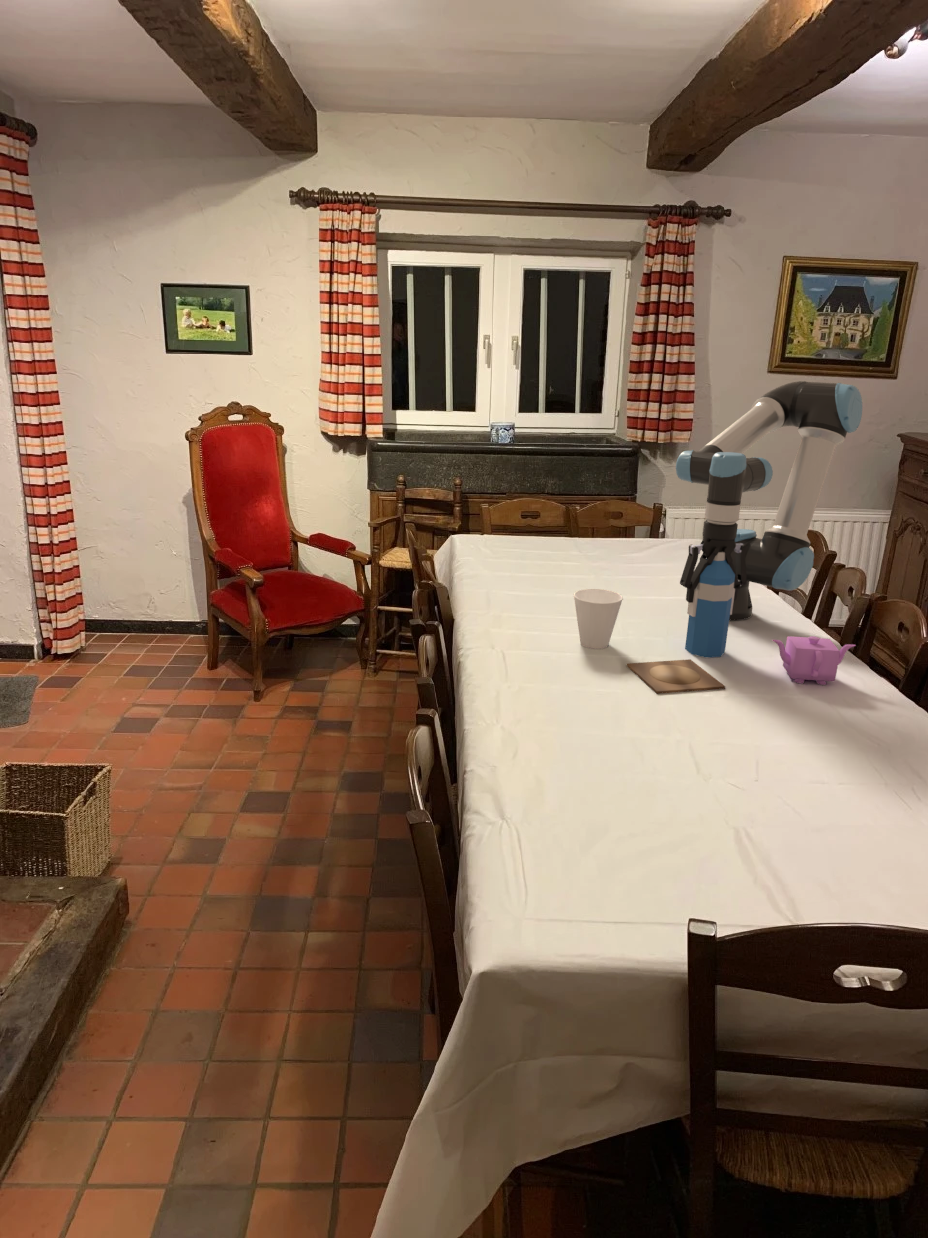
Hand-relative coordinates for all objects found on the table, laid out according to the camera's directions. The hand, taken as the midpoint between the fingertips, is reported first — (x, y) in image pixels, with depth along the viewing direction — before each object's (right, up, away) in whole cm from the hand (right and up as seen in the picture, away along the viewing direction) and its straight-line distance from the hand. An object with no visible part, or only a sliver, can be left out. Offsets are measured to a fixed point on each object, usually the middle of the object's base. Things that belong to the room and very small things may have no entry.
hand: (709, 613), depth 200 cm
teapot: (+19, -15, -11) cm, 26 cm away
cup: (-27, -8, +6) cm, 28 cm away
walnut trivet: (-12, -14, -13) cm, 23 cm away
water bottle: (0, -9, +3) cm, 10 cm away
